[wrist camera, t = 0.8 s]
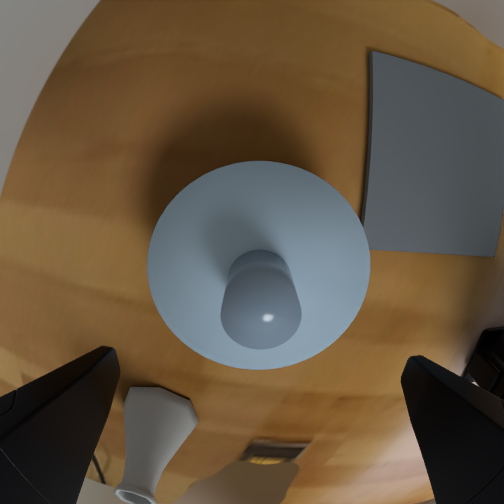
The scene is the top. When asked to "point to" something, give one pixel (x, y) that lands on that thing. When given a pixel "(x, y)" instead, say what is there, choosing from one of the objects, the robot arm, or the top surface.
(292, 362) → the lid
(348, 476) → the top surface
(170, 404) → the flask
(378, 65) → the plate
